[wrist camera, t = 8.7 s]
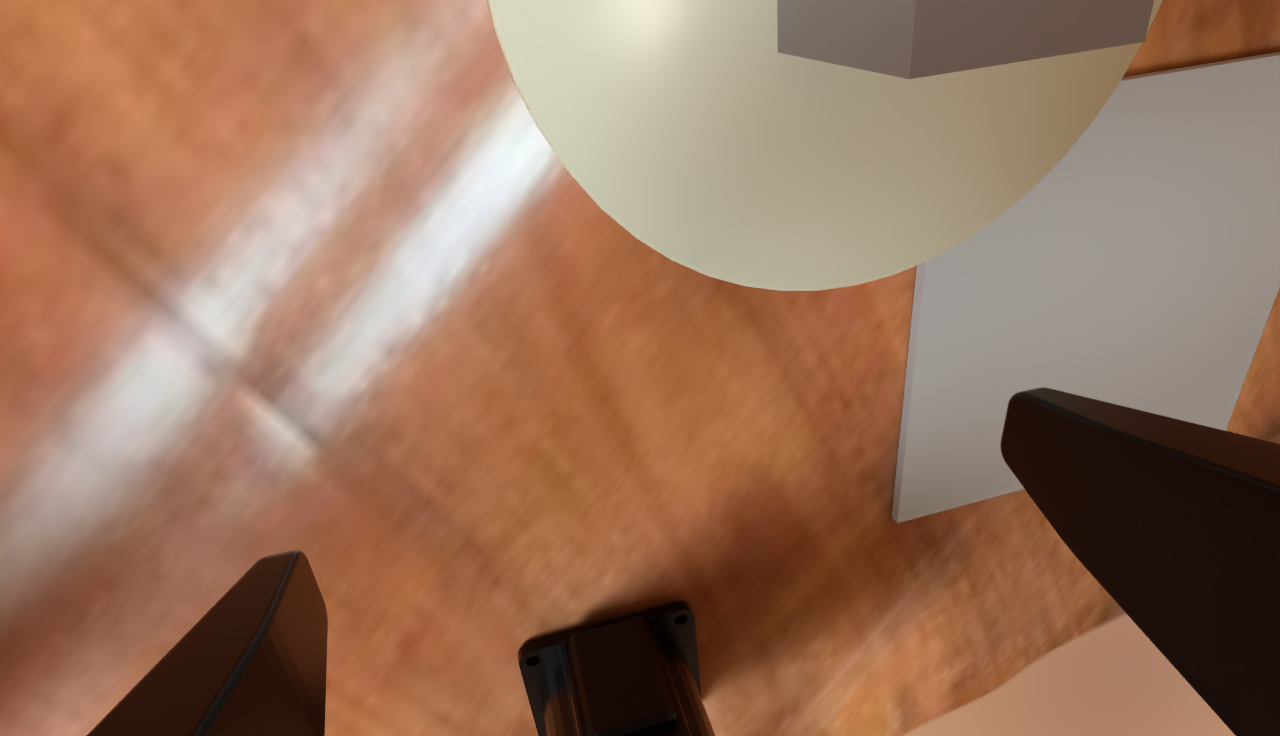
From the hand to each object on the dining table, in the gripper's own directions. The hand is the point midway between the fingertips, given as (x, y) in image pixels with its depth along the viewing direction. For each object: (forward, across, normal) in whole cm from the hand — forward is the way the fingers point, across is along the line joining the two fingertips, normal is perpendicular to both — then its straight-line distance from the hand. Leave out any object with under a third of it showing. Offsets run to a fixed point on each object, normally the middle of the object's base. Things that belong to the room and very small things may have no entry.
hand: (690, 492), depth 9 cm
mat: (+12, -19, +5) cm, 23 cm away
